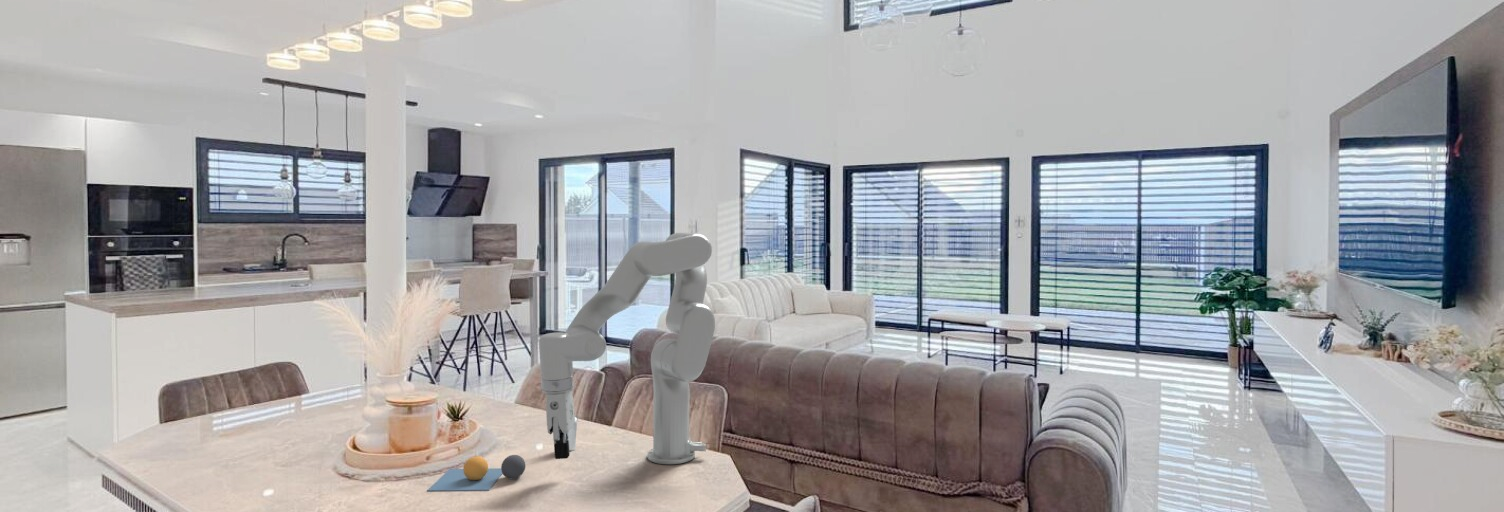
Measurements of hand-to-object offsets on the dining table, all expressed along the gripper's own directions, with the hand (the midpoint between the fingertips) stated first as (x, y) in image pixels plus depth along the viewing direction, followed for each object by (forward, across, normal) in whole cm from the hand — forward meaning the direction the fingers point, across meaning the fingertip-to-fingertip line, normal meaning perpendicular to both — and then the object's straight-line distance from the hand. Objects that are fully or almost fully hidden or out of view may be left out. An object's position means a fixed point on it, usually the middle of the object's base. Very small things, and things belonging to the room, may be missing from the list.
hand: (562, 457), depth 172 cm
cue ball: (+2, 0, +12) cm, 12 cm away
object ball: (+1, -1, +21) cm, 21 cm away
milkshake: (+6, +21, +3) cm, 22 cm away
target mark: (+4, -1, +22) cm, 23 cm away
